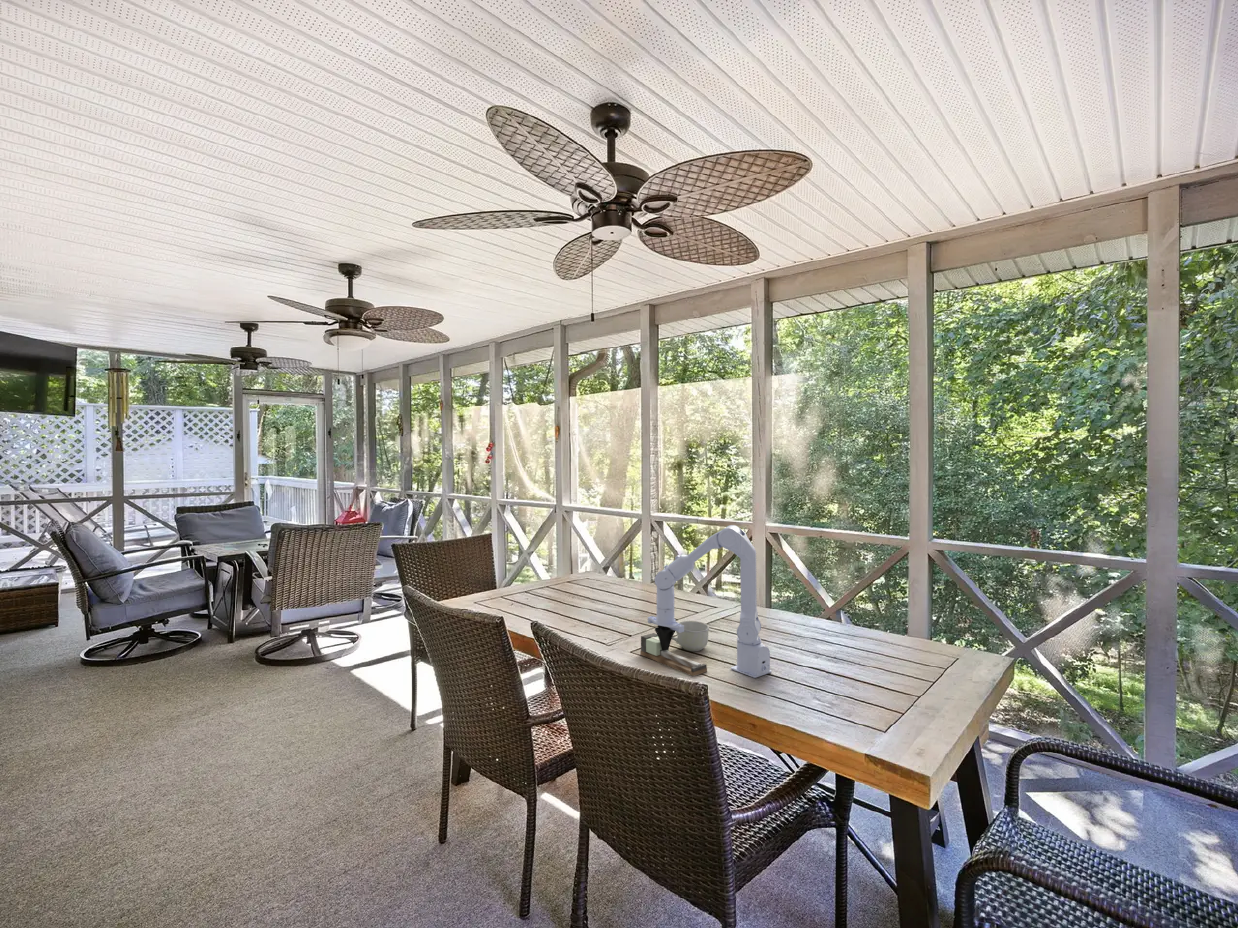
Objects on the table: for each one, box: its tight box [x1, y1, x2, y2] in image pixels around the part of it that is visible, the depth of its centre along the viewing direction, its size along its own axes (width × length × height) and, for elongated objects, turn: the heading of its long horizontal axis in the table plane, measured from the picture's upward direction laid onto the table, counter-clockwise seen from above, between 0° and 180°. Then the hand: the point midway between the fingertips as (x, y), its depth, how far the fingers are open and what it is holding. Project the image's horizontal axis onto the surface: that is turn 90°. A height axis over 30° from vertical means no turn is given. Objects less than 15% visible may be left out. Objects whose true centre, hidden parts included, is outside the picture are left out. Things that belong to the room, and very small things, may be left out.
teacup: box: [671, 620, 710, 652], centre depth 196 cm, size 14×11×8 cm
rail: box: [639, 632, 708, 677], centre depth 182 cm, size 24×6×6 cm, turn 38°
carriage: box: [646, 636, 670, 656], centre depth 188 cm, size 5×5×4 cm
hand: (665, 649), depth 185 cm, fingers closed
